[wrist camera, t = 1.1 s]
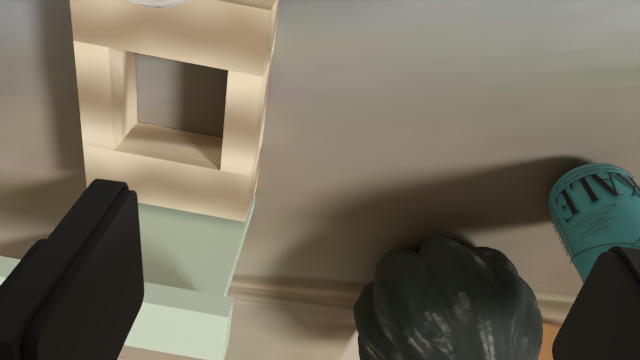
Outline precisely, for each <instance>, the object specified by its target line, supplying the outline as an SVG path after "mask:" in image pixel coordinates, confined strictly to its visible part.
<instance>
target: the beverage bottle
mask: <svg viewBox="0 0 640 360" xmlns="http://www.w3.org/2000/svg"><path fill="white" fill-rule="evenodd" d="M624 170H625V169H624ZM624 170H622V168H621V169H620V167H616V166H614V165H610V164H605V163H592V164H586V165H583V166H579V167H577V168H575V169H573V170H571V171H569V172H567V173H566V174H564V175H563V176H562V177H561V178H560V179H559V180H558V181H557V182H556V183H555V184H554V186H553V188H552V189H551V192H550V195H549V199H548V204H547V206H548V209H549V210H548V211H549V212H547V213H550V214H549V215H550V216H551V218H552V220H553V222H554V224H555V226H556V229H555V227H554V226H553V227H554V230H556V231H558V233H559V235H560V237H561V239H562V241H563V244H564V245H565V247H566V250H564V251H568V252H566V253H567V255H568V254H569V256H570V258H571V261H572V262H573V264H574V266H575V268H576V269H577V271H578V273H579V275H580V277H581V279H582V281H583V283H584V282H585V280H586V279H587V277H588V275H589V273H590V271H591V269H592V267H593V265H594V263H595V261H596V259H597V258H598V256H599V255H600V254H601V253H602V252H607V251H608V249H610V248H611V247H612V246H621V247H629V248H637V249H640V188H639V186H640V185H639V186H638V185H637V184H636V182H635V181H634V180H633V178H632V177H633V176H632V177H631V176H630V175H629V174H628V173H627V172H625V171H624ZM550 216H549V218H550ZM552 224H553V223H552ZM556 231H555V232H556ZM565 247H564V248H563V249H565Z"/></svg>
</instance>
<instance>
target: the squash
mask: <svg viewBox="0 0 640 360" xmlns="http://www.w3.org/2000/svg"><path fill="white" fill-rule="evenodd" d="M354 317H355V322H356V327H357V331H358V333H359V335H358V345H359V356H360V360H538V356H539V353H540V349H541V344H542V334H543V326H542V316H541V312H540V309H539V306H538V303H537V300H536V297H535V295H534V293H533V291H532V289H531V288H530V286H529V285H528V284H527V283H526V282H525V281H524V280H523V279H522V278H521V277H520V276H519V275H518V273H517V270H516V268H515V266H514V265H513V263H512V262H511V261H510V260H509V259H508V258H507V257H506V256H505V255H504V254H503V253H502V252H500V251H498V250H496V249H492V248H488V247H471V248H467V247H465V246H464V245H462V244H460V243H458V242H456V241H454V240H452V239H450V238H446V237H442V236H434V237H431V238H429V239H428V240H427V241H425V242H424V244H423V245H422V246H421V248H420V251H419V253H418V254H417V253H415V252H413V251H411V250H408V249H404V248H395V249H393V250H390V251H388V252H387V253H386V254H385V255H384V256H383V257H382V258H381V260H380V262H379V263H378V266H377V269H376V273H375V277H374V281H372V282H370V283H369V284H368V285H366V286H365V288H364V289H363V291H362V292H361V296H360V297H359V299H358V300H357V302H356V303H355V306H354Z"/></svg>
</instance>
